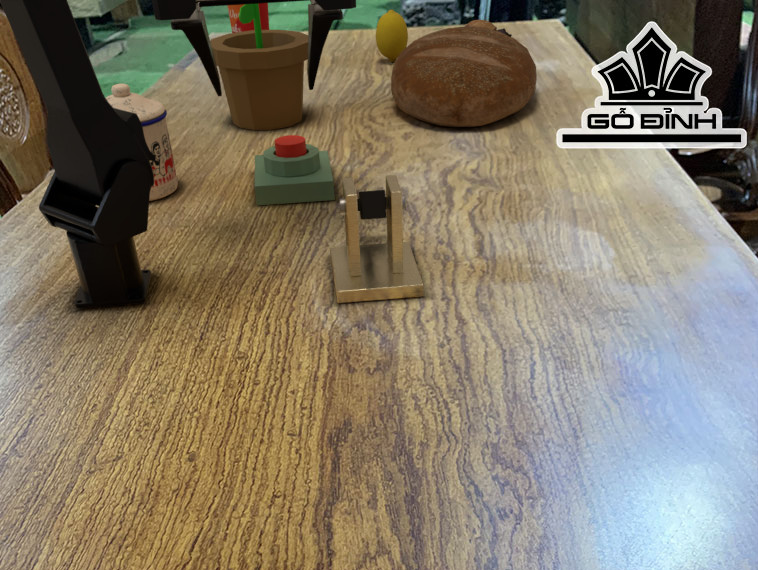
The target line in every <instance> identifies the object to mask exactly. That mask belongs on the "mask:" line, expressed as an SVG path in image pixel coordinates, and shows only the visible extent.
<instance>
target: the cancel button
mask: <svg viewBox="0 0 758 570" xmlns="http://www.w3.org/2000/svg"><path fill="white" fill-rule="evenodd" d="M306 141H307V140H306V138H305V137H304V136H301V135H297V134H288V135H282V136H279V137H276V138H275V139H274V146H275V150H276V156H278V157H283V158H294V157H300V156H304V155H306V154H307V152H306V144H307V142H306Z"/></svg>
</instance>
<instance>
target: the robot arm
mask: <svg viewBox="0 0 758 570" xmlns="http://www.w3.org/2000/svg"><path fill="white" fill-rule="evenodd" d="M307 1H308V2H310V3H309V4H307V19H308V20H307V23H308V24H307V25H308V26H307V27H308V28H307V29H308V30H307V35H308V60H306V63H307V64H306V66H307V68H306V72H307V82H308V83H307V84H308V90H309V91H313V90H314V89H315V84H316V79H317V76H318V71H319V67H320V62H321V58H322V55H323V54H322V53H323V50H324V47H325V44H326V42H327V38H328V36H329V33H330V31H331V28H332V25H333V23H334V21H341V20H343V19H344V13H343V10H351V9H355V8H357V0H151V3H152V8H153V14H154V20H156V21H170V28H171V30H173V31H182V32H183V34H184V36H185V37H186V39H187V40H188V42H189V43H190V45H191V46H192V48H193V50H194V51H195V52H196V54H197V56H198V58H199V60H200V62H201V64H202V66H203V68H204V70H205V73H206V74H207V76H208V78H209V81H210V83H211V85H212V87H213V88H214V91H215V93H216V95H217V97H222V96H223V92H222V83H221V76H220V72H219V68H218V66H217V65H216V61H215V57H214V54H213V50H212V46H211V42H210V41H211V39H210V35H209V31H208V26H207V21H206V17H205V12H204V10H201V9H202V8H210V7H223V6H225V7H226V6H227V5H243V4H260V3H268V4H274V3H275V4H276V3H290V2H307ZM0 5H1V7H2V10H3V12H4V14H5V16H6V19H7V21H8V23H9V26H10V28H11V30H12V32H13V35H14V37H15V39H16V42H17V44H18V46H19V48H20V51H21V53H22V55H23V58H24V60H25V62H26V64H27V67H28V69H29V71H30V73H31V76H32V78H33V81H34V82H35V85H36V87H37V89H38V91H39V94H40V96H41V98H42V101H43V103H44V105H45V108H46V113H47V115H46V116H47V120H46V121H47V123H46V145H47V148H48V152H49V155H50V159H51V162H52V166H53V170H54V172H53V174H52V176H51V179H50V180H49V183H48V184H47V187H46V190H45V192H44V194H43V196H42V198H41V201H40V202H39V205H38V210H39V212H40V213H41V214H42V216H43V217H44V219H45V220H46V222H47V223H48V225H49V226H51V227H54V228H58V229H61V230H63V231H66V232H65V233H66V237H67V241H68V244H69V248H70V252H71V255H72V258H73V262H74V265H75V269H76V272H77V276H78V279H79V282H80V286H79V288H78V291H77V293H76V296H75V299H74V300H73V301H74V302H73V304H74V307H75V308H76V309H87V308H102V307H114V306H125V305H126V306H128V305H140V304H144V303H146V301H147V298H148V293H149V290H150V286H151V285H150V284H151V280H152V276H153V274H152V271H151V269H142V268H141V263H140V259H139V255H138V251H137V247H136V242H135V237H136V236H138V235H141V234H143V233H145V232H147V231H148V223H149V211H150V201H149V198H150V190H151V187H152V186H153V185H154V174H153V169H152V165H151V163H150V161H155V160H156V158H155V156H154V155H153V154H152V153H151V151H150V150H149V148H148V146H147V144H146V140H145V137H144V132H143V127H142V124H141V122H140V120H139V117H138V115H137V114H136V113H132V112H128V111H124V110H120V109H116V108H113V107H112V106H111V105H110V103H109V102H108V101H107V100H106V97H105V94H104V93H103V89H102V88H101V85H100V82H99V80H98V76H97V75H96V71H95V69H94V66H93V64H92V62H91V58H90V56H89V54H88V51H87V49H86V46H85V42H84V41H83V38H82V35H81V33H80V29H79V28H78V25H77V23H76V20H75V17H74V14H73V12H72V9H71V7H70V4H69V2H68V0H0Z"/></svg>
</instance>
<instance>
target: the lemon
mask: <svg viewBox="0 0 758 570" xmlns="http://www.w3.org/2000/svg"><path fill="white" fill-rule="evenodd" d="M408 42H409V33H408V27H407V23H406V20H405V19H404V18H403V16H402V15H401V14H400V13H398V12H396V11H394V9H389V10H388V11H387V12H385V13H384V14H382V16H380V18H379V20H378V21H377V23H376V29H375V43H376V47H377V50H378V51H379V53H380V54H381V55H382V56H383V57H384V58H387V60H388V61H389V62H390V63H395V61H396V59H397V58H398V56H399V55H400V53H401V52H402V51H403V50H404V49H405V48H406V47H407V46H408Z"/></svg>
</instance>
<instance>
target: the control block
mask: <svg viewBox="0 0 758 570" xmlns="http://www.w3.org/2000/svg"><path fill="white" fill-rule="evenodd" d="M306 152H307V154H306V155H304V156H300V157H294V158H283V157H278V156H276V150H275V145H273V146H270V147H268V148H267V149H265V150H264V151H263V154H256V155H254V193H255V201H256V206H267V205H268V206H269V205H270V206H271V205H282V204H283V205H284V204H298V203H299V204H300V203H313V202H325V201H327V202H328V201H335V184H334V177H333V171H332V166H331V162H330V161H331V160H330V156H329V151H328V150H319V147H317V146H314V145H313V144H310V143H306Z"/></svg>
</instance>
